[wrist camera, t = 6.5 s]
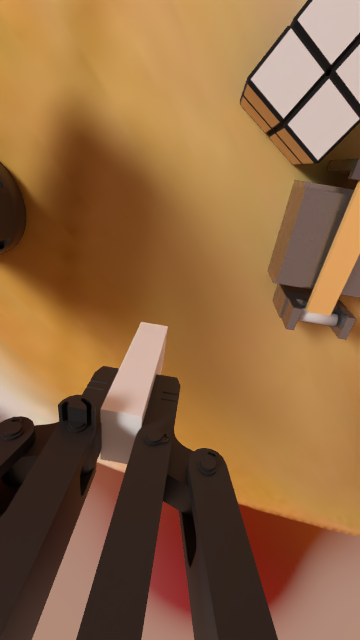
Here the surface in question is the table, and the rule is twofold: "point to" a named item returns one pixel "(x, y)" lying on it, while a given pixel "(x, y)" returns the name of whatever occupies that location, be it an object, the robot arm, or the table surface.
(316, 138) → the puzzle cube
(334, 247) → the strap
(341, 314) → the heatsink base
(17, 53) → the table surface
